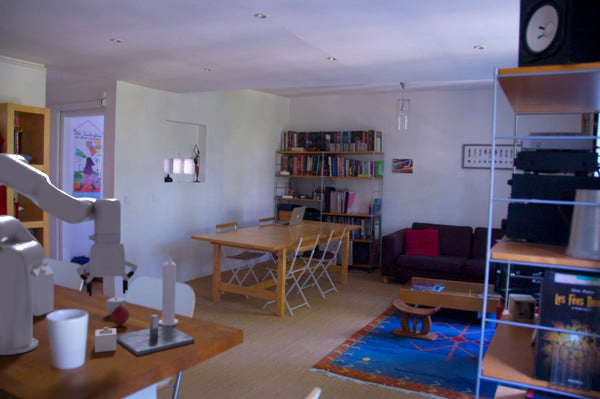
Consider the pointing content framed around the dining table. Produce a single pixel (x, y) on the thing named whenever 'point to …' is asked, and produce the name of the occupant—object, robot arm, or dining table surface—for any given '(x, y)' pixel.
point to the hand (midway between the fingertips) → (107, 293)
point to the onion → (120, 315)
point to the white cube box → (105, 339)
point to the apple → (114, 304)
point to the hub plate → (153, 338)
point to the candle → (168, 294)
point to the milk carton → (42, 289)
